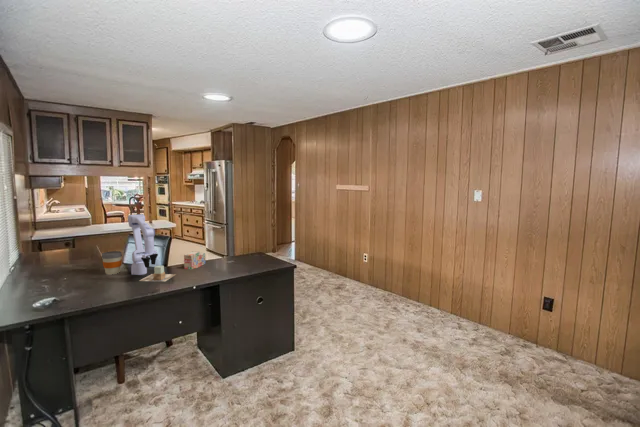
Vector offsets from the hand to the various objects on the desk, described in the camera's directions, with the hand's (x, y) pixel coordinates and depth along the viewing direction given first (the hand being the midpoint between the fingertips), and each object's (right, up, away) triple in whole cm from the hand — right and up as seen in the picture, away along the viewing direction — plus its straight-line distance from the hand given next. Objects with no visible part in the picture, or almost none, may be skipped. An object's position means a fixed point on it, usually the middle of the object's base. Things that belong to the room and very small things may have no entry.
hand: (150, 265), depth 219 cm
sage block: (+6, -5, 0) cm, 8 cm away
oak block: (+6, -9, +1) cm, 11 cm away
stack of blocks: (+17, -7, +37) cm, 41 cm away
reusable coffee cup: (-37, -8, +18) cm, 42 cm away
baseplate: (+3, -10, +5) cm, 12 cm away
